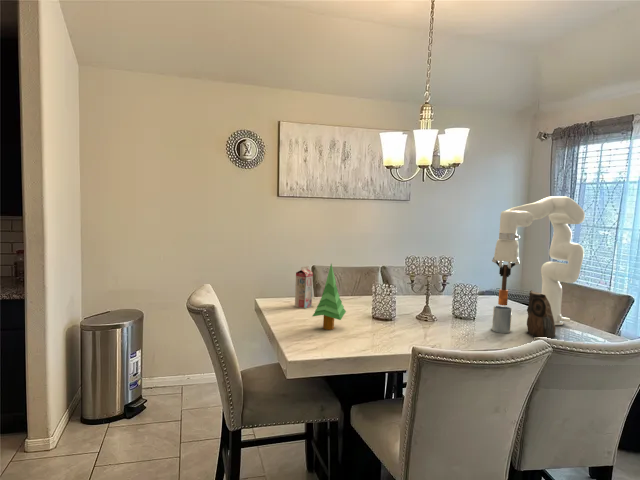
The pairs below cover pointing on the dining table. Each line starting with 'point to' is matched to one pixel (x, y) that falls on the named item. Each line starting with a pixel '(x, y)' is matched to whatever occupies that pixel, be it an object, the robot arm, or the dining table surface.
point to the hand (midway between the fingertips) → (504, 276)
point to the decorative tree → (330, 303)
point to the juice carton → (303, 288)
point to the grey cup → (501, 319)
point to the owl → (540, 316)
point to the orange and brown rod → (503, 288)
